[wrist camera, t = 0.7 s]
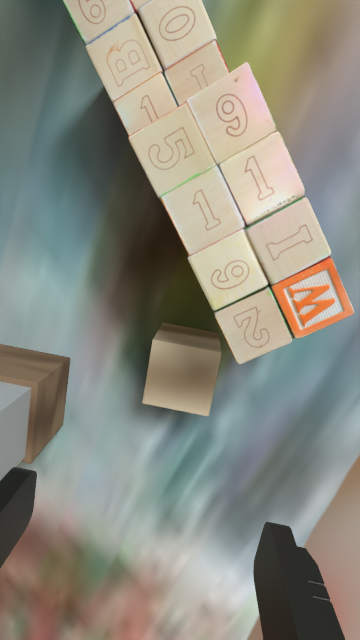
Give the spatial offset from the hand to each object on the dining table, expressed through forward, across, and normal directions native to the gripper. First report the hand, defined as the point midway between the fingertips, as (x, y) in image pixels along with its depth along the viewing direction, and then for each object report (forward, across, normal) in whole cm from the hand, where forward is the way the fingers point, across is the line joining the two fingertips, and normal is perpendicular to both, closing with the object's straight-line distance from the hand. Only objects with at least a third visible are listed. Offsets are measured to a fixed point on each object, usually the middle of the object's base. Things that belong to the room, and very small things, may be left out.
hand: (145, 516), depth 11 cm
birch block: (+18, 0, 0) cm, 18 cm away
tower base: (+18, +14, +6) cm, 24 cm away
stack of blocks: (+19, +1, -14) cm, 24 cm away
